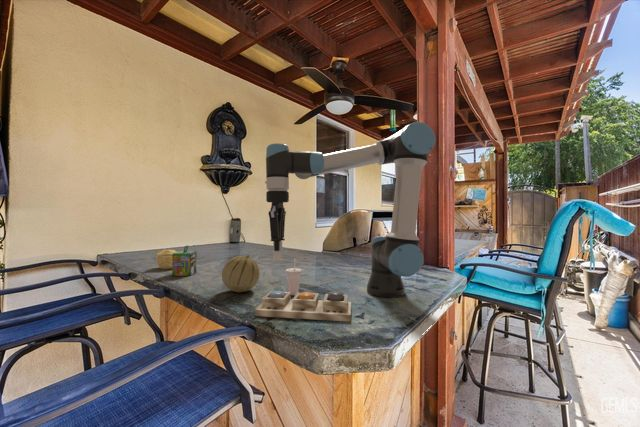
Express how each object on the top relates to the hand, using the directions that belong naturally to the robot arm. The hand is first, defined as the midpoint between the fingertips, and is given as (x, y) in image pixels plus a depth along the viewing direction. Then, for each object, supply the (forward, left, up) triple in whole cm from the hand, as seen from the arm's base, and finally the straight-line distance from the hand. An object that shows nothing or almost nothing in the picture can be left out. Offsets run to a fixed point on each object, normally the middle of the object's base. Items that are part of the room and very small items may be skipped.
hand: (277, 260), depth 92 cm
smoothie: (-2, -16, -17) cm, 23 cm away
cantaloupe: (+20, -16, -17) cm, 31 cm away
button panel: (-10, +2, -17) cm, 19 cm away
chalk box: (+61, -40, -17) cm, 75 cm away
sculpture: (+79, -52, -17) cm, 96 cm away
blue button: (0, 0, -14) cm, 14 cm away
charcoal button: (-20, 0, -13) cm, 24 cm away
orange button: (-10, 0, -14) cm, 17 cm away
